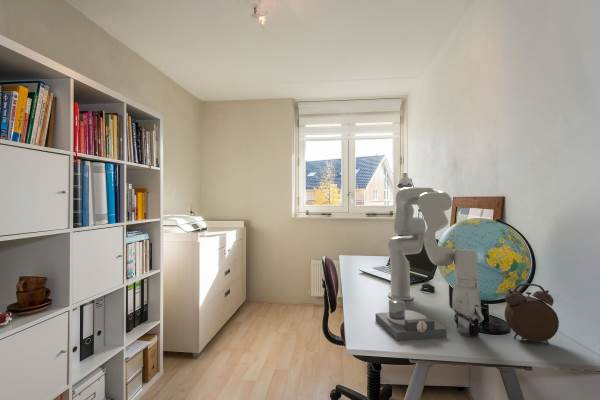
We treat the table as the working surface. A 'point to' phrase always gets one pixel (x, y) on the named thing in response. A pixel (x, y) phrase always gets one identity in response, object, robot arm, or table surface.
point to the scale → (411, 326)
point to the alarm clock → (531, 315)
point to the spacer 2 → (464, 325)
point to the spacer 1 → (396, 309)
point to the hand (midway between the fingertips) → (467, 331)
